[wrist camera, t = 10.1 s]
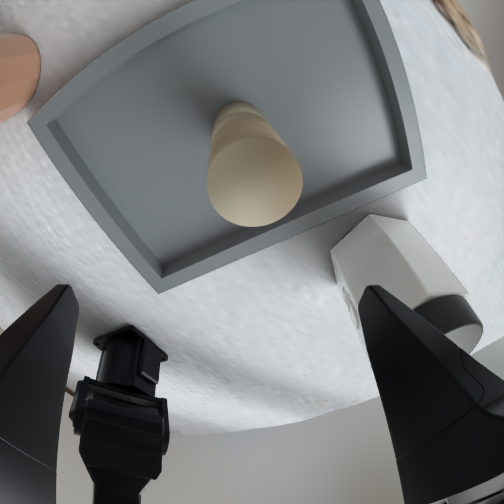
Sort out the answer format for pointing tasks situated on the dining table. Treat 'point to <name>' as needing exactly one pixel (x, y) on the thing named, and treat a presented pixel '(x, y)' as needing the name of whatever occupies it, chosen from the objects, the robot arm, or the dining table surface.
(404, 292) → the jar
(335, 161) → the tray
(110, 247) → the dining table surface
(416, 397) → the robot arm
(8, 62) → the cup
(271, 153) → the pin
